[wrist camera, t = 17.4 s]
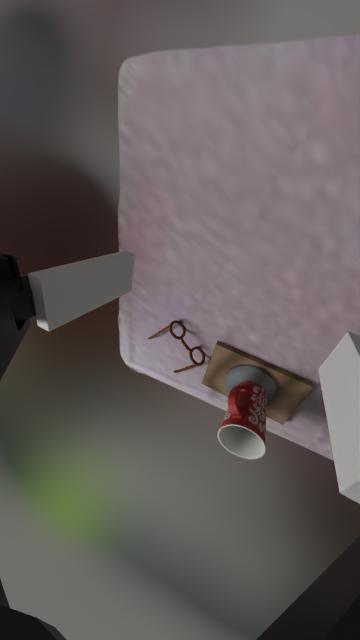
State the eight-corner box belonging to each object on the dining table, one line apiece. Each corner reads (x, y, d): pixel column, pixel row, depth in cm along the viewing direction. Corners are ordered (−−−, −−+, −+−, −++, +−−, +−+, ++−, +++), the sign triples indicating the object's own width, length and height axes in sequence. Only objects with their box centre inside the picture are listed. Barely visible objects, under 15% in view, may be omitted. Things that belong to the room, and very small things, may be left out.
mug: (274, 409, 50) (270, 464, 39) (236, 406, 55) (223, 454, 44) (264, 364, 46) (256, 411, 35) (224, 365, 51) (206, 407, 40)
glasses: (208, 356, 56) (201, 367, 52) (175, 371, 63) (167, 382, 59) (178, 316, 54) (169, 325, 50) (148, 336, 62) (138, 345, 58)
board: (312, 382, 46) (313, 390, 44) (282, 419, 53) (282, 428, 51) (217, 341, 52) (214, 346, 50) (203, 379, 59) (200, 385, 57)
